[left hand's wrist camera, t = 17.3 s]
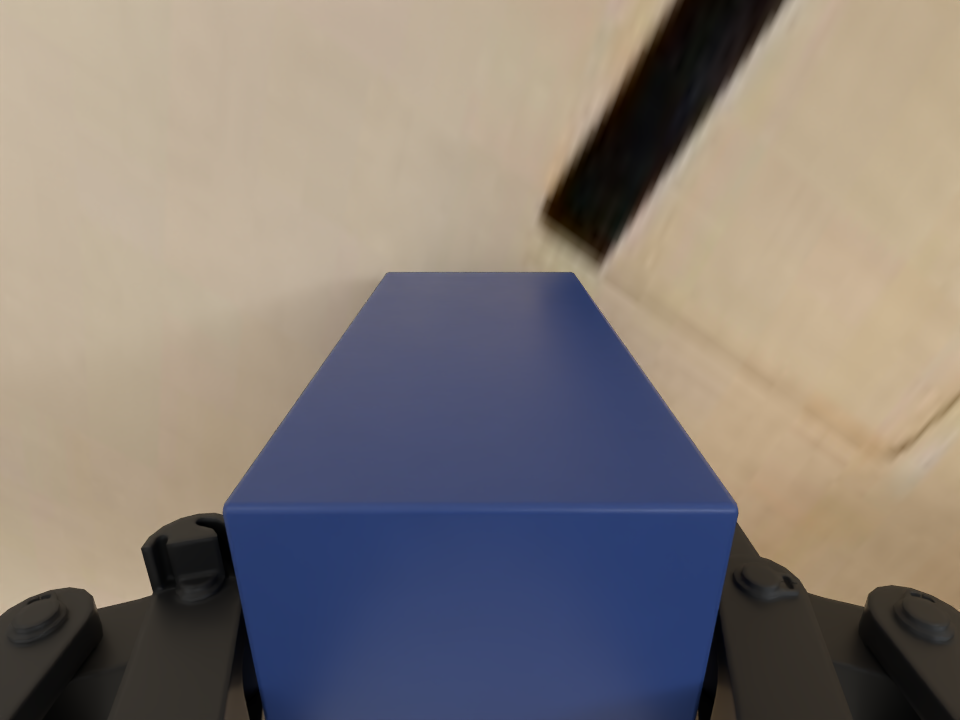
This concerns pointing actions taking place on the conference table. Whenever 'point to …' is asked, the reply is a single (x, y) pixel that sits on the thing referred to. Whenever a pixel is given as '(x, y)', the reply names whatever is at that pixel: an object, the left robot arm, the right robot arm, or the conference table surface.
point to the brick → (480, 519)
